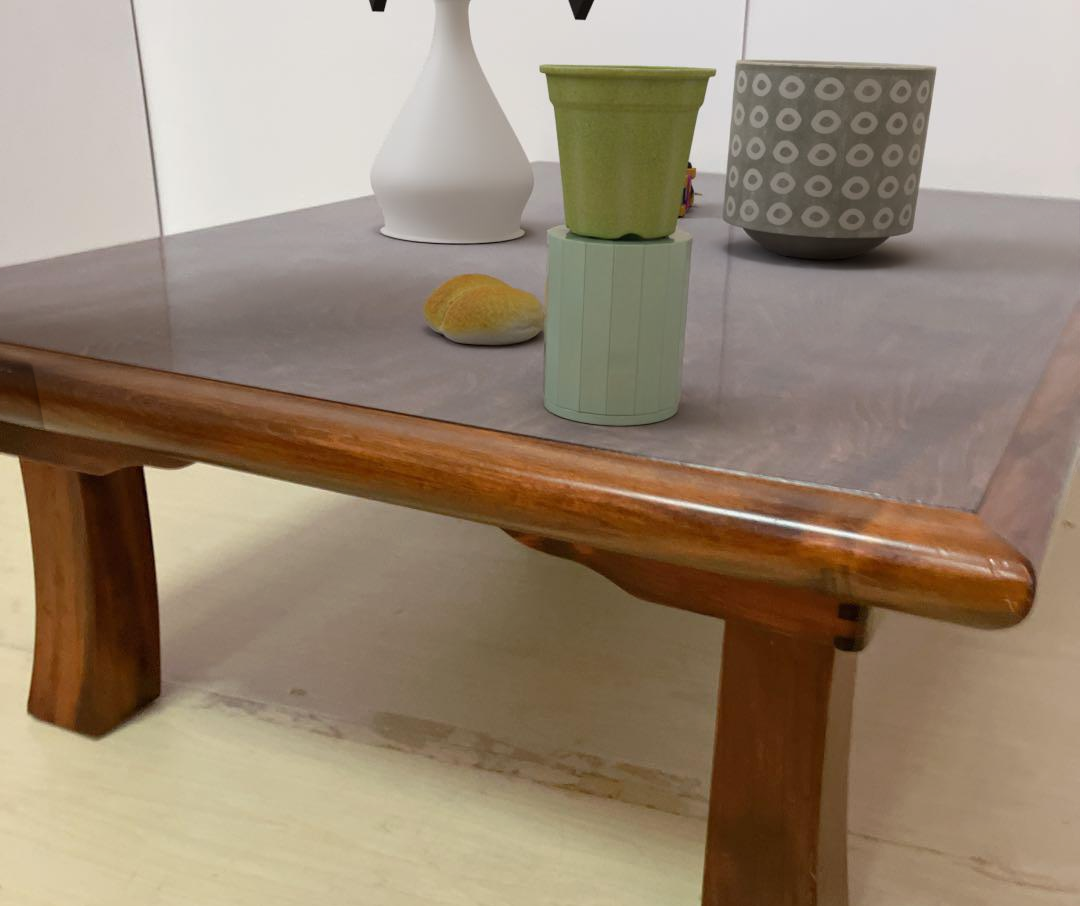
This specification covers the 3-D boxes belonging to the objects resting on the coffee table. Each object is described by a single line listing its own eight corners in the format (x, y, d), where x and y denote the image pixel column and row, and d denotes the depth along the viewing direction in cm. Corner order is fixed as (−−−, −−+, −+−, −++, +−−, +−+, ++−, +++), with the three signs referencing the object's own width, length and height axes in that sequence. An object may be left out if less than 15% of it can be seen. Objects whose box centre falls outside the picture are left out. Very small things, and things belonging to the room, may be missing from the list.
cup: (548, 425, 66) (554, 243, 62) (538, 386, 73) (542, 221, 69) (690, 426, 66) (704, 246, 62) (665, 386, 74) (677, 223, 70)
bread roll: (467, 353, 80) (467, 294, 78) (409, 325, 87) (407, 271, 85) (568, 339, 84) (570, 283, 82) (505, 314, 91) (506, 262, 89)
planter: (757, 232, 133) (774, 59, 126) (927, 250, 125) (956, 65, 117) (691, 255, 118) (706, 60, 111) (879, 278, 109) (909, 68, 102)
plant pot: (501, 233, 65) (504, 62, 61) (593, 215, 72) (599, 62, 68) (650, 253, 60) (661, 70, 56) (732, 232, 67) (746, 68, 64)
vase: (400, 249, 117) (394, -30, 107) (352, 223, 131) (343, -25, 121) (559, 241, 124) (567, -22, 114) (496, 217, 138) (499, -18, 128)
